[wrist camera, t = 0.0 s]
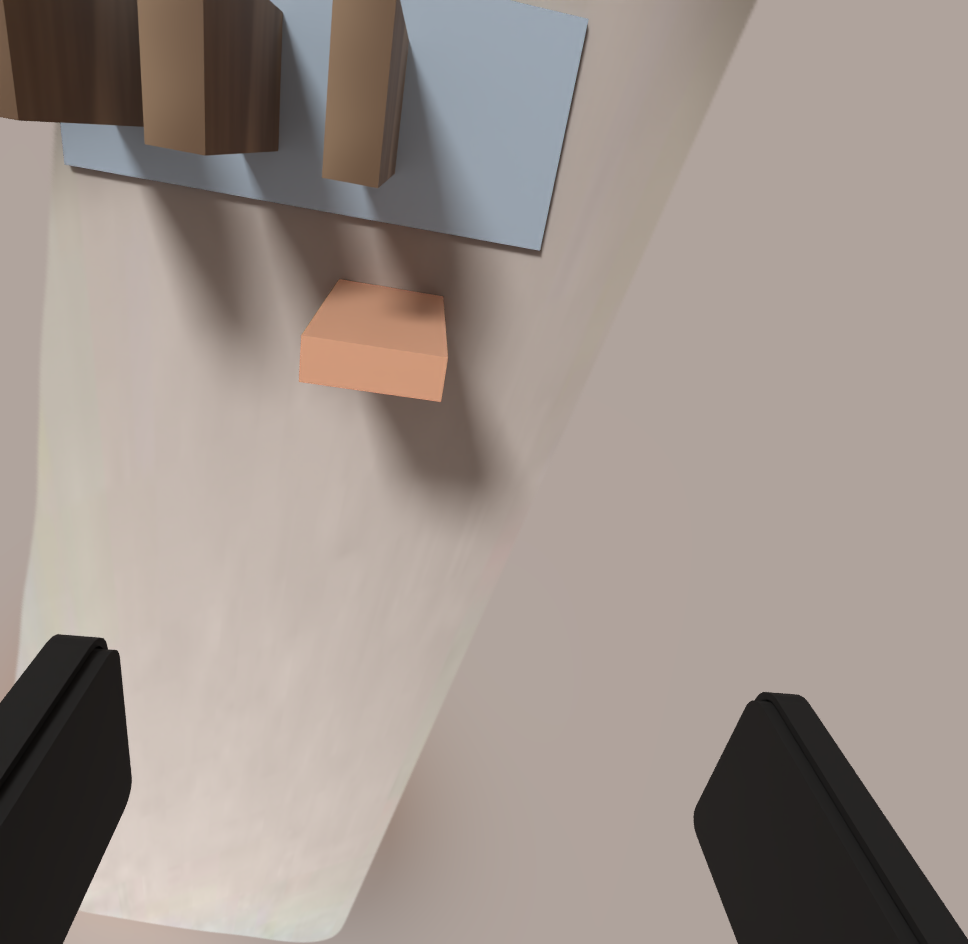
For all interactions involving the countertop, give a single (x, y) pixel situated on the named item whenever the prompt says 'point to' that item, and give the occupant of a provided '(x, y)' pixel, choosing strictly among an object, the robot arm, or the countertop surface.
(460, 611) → the countertop surface
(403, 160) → the pale blue placemat
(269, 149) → the domino
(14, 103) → the domino
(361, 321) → the terracotta domino
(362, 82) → the domino
